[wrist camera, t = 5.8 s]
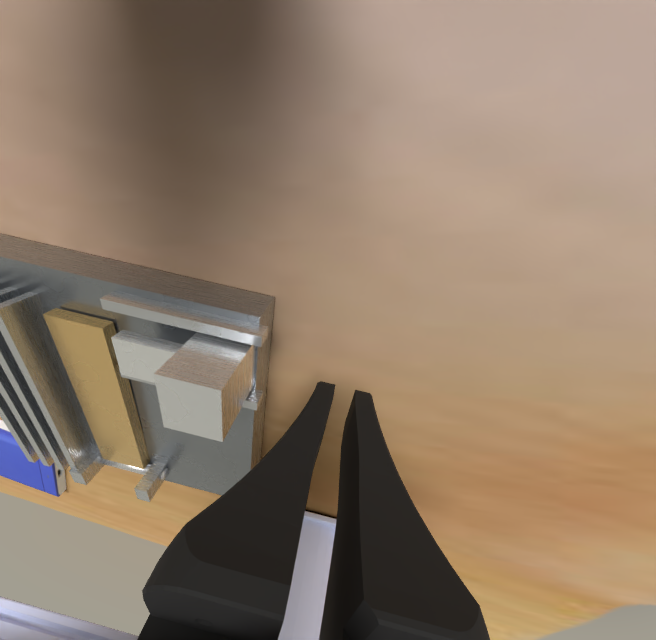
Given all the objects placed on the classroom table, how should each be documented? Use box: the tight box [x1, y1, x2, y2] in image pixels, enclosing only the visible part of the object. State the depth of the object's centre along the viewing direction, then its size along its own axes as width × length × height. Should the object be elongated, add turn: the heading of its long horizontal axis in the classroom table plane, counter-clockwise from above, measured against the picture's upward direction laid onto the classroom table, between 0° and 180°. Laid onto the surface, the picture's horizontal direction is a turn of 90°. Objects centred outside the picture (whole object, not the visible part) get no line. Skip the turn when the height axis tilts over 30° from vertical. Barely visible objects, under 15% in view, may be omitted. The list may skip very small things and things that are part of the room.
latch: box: [111, 330, 256, 442], centre depth 12 cm, size 3×5×3 cm, turn 80°
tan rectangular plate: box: [43, 308, 150, 469], centre depth 16 cm, size 11×3×1 cm, turn 170°
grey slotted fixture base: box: [0, 234, 275, 502], centre depth 16 cm, size 15×15×4 cm
